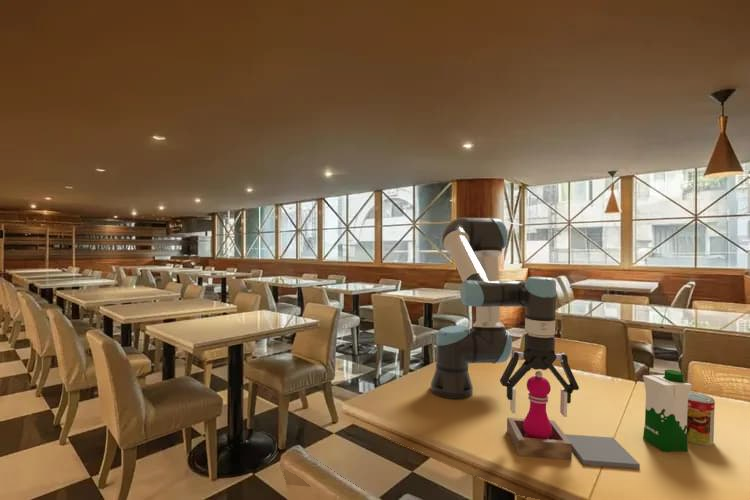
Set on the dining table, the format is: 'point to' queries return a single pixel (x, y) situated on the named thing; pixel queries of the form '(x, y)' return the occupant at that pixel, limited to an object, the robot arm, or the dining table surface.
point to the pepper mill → (537, 408)
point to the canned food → (700, 419)
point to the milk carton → (666, 411)
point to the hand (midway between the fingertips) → (537, 413)
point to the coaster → (601, 452)
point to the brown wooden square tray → (539, 441)
